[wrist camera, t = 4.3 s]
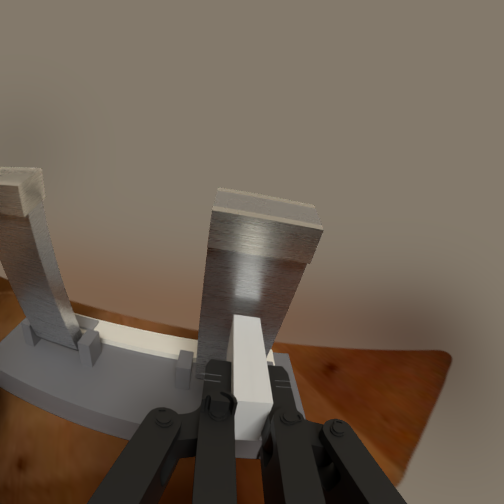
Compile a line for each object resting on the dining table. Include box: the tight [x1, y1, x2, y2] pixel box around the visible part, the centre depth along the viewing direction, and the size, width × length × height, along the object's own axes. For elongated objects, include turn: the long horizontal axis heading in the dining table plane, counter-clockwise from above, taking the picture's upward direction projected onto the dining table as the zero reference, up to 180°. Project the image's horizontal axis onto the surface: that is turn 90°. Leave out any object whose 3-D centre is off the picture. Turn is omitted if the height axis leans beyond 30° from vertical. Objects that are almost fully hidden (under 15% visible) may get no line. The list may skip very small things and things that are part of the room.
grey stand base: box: [0, 313, 306, 459], centre depth 22 cm, size 30×12×6 cm, turn 93°
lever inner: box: [0, 167, 83, 351], centre depth 16 cm, size 5×2×17 cm, turn 93°
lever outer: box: [195, 187, 323, 380], centre depth 18 cm, size 5×2×17 cm, turn 93°
